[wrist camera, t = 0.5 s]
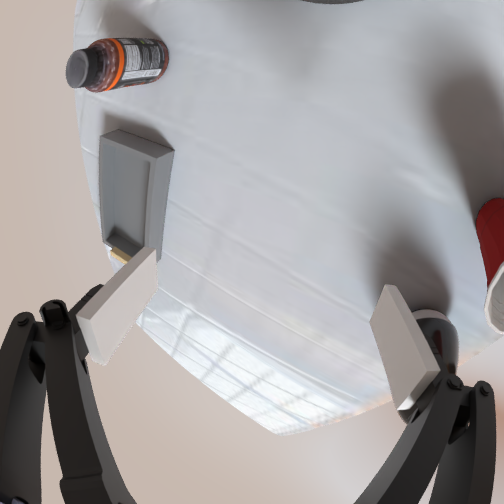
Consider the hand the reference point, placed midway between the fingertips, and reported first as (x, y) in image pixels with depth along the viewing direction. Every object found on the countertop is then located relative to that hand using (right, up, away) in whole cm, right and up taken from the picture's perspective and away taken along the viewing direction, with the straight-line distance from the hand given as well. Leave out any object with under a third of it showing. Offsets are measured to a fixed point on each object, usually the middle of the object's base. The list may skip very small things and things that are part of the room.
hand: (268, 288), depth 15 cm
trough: (-18, +10, +22) cm, 30 cm away
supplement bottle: (-13, +25, +10) cm, 29 cm away
